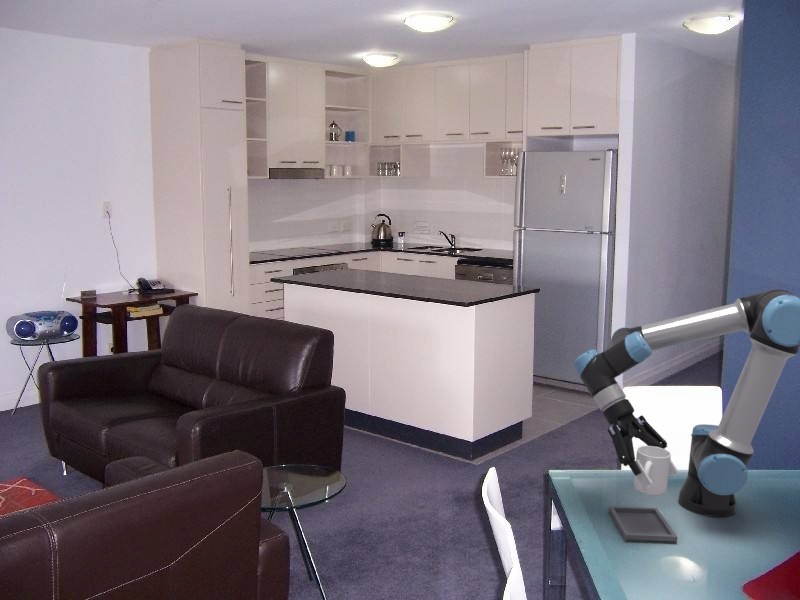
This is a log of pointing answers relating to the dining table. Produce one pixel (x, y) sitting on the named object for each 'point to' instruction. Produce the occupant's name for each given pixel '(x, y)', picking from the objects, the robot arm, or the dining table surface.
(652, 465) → the mug
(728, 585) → the dining table surface
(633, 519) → the tray
